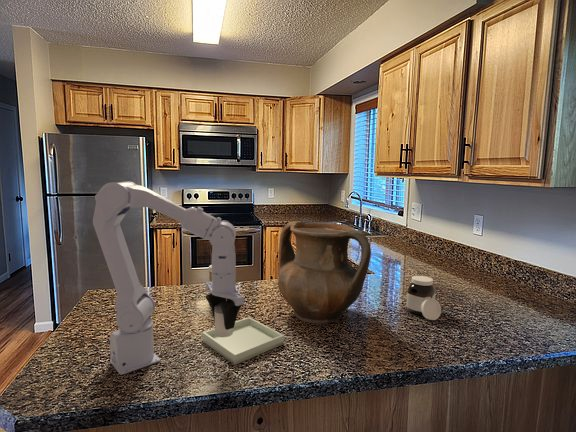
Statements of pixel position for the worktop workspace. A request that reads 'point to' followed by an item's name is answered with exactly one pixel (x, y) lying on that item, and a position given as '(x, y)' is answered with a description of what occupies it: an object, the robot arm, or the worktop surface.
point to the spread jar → (423, 298)
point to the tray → (244, 340)
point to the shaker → (221, 323)
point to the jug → (320, 270)
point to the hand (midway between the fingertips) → (224, 324)
